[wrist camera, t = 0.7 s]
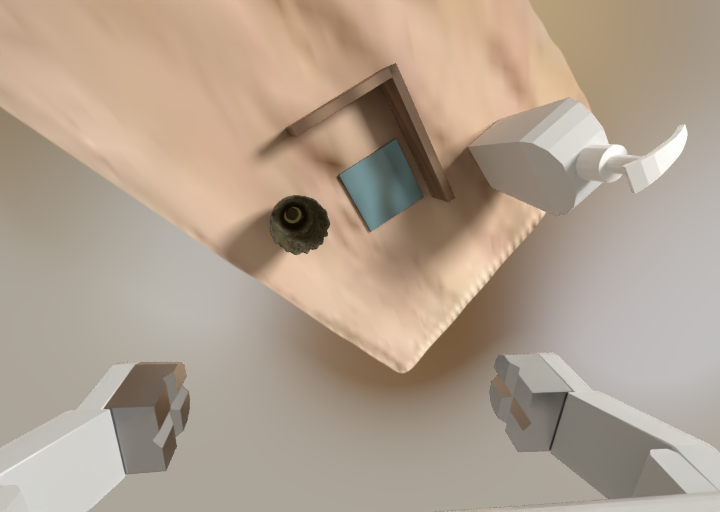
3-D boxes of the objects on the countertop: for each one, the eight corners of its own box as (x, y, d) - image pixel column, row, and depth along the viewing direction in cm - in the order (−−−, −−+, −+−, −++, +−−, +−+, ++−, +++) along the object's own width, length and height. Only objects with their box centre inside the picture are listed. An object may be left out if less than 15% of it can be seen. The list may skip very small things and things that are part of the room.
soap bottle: (536, 161, 64) (709, 176, 41) (492, 199, 64) (641, 238, 40) (505, 97, 59) (683, 74, 36) (457, 139, 59) (604, 143, 35)
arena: (357, 246, 59) (367, 256, 54) (286, 127, 51) (291, 127, 46) (438, 192, 60) (455, 197, 56) (382, 69, 52) (395, 63, 48)
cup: (254, 213, 53) (256, 226, 46) (291, 176, 53) (300, 183, 46) (292, 248, 56) (300, 266, 49) (327, 214, 56) (341, 226, 49)
